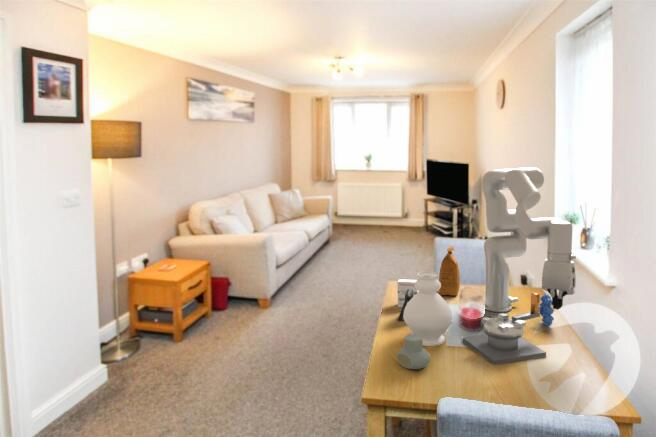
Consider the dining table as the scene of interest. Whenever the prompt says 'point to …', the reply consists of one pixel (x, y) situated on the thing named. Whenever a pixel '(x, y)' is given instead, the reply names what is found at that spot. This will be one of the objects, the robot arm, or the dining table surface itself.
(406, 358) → the air freshener
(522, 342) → the thin grey metal plate
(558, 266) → the robot arm
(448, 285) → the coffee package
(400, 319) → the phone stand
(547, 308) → the grapes
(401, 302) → the ink box
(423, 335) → the decorative vase
